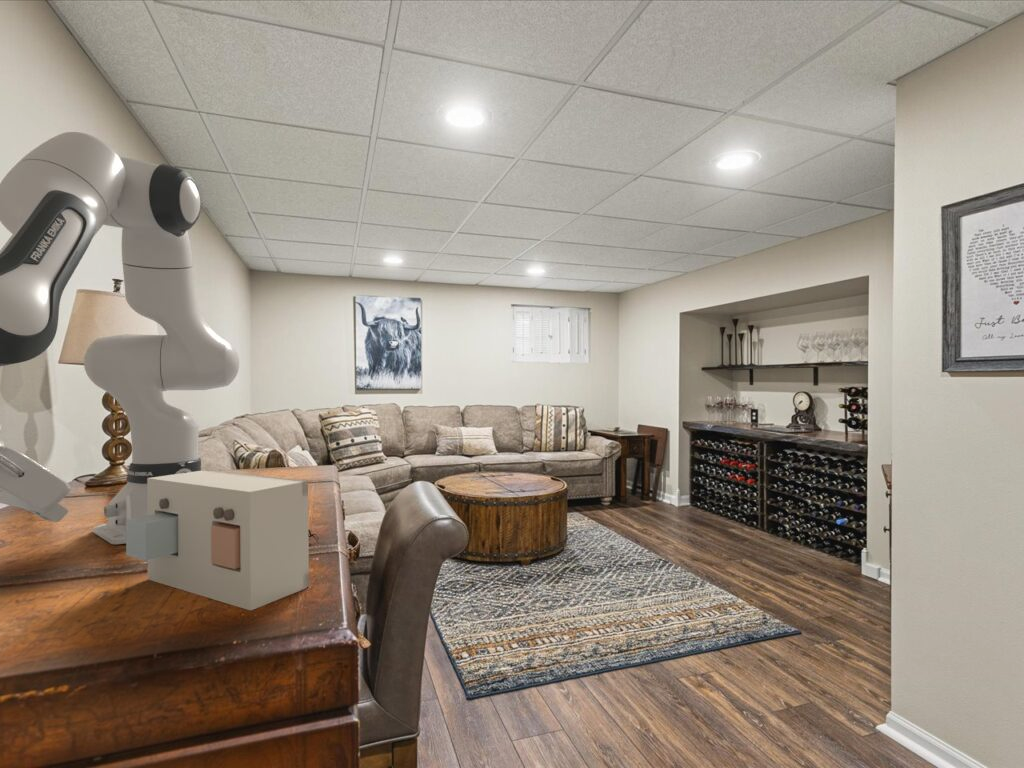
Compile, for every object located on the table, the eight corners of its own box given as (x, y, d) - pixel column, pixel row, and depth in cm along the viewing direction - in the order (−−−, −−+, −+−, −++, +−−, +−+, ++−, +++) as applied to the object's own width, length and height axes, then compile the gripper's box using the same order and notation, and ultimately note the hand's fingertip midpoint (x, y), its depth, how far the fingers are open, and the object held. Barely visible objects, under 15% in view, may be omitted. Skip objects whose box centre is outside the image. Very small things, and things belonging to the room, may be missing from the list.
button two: (211, 563, 71) (211, 525, 71) (264, 547, 78) (264, 512, 78) (234, 569, 68) (234, 529, 68) (287, 551, 75) (287, 516, 75)
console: (143, 580, 78) (142, 478, 79) (207, 561, 87) (206, 469, 87) (246, 612, 67) (245, 492, 67) (308, 587, 75) (308, 480, 75)
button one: (126, 555, 74) (126, 519, 74) (184, 540, 81) (184, 508, 81) (145, 560, 72) (145, 523, 72) (204, 545, 79) (204, 511, 79)
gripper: (13, 424, 54) (122, 502, 63) (-57, 420, 64) (44, 488, 73) (-48, 474, 50) (76, 550, 59) (-114, 462, 60) (1, 528, 69)
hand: (58, 515), depth 66 cm, fingers closed
